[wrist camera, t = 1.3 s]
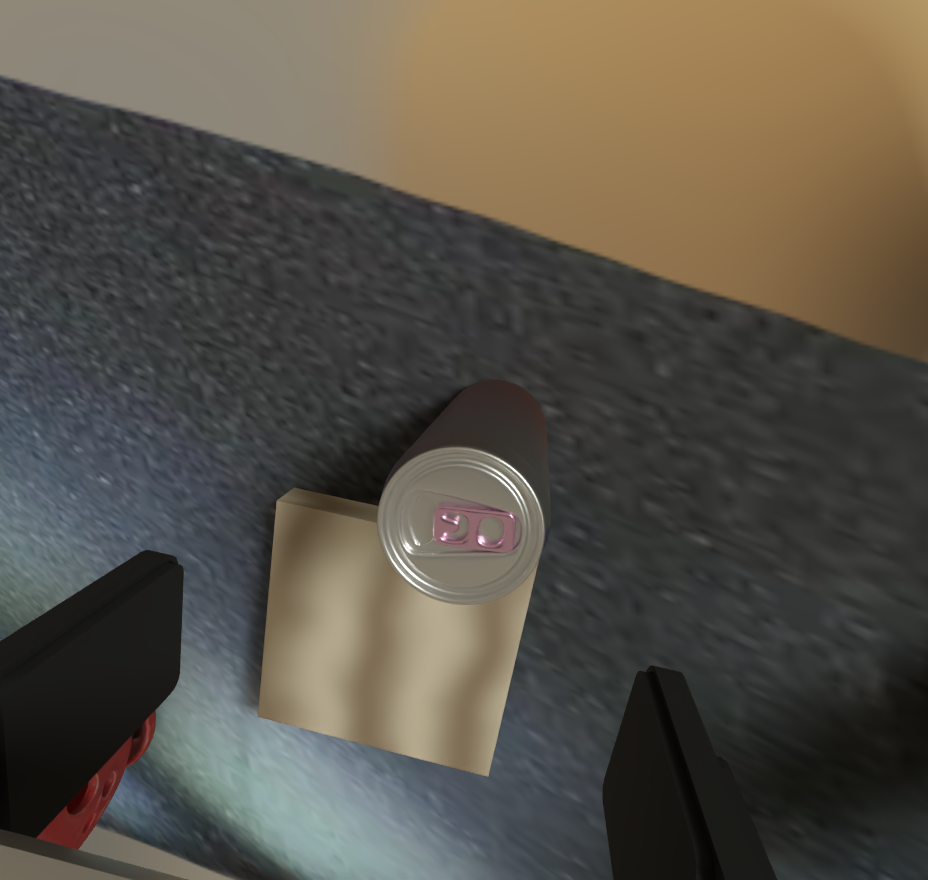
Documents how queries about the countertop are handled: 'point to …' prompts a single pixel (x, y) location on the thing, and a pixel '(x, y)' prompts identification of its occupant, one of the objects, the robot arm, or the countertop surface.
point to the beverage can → (470, 498)
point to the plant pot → (97, 792)
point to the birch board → (379, 643)
